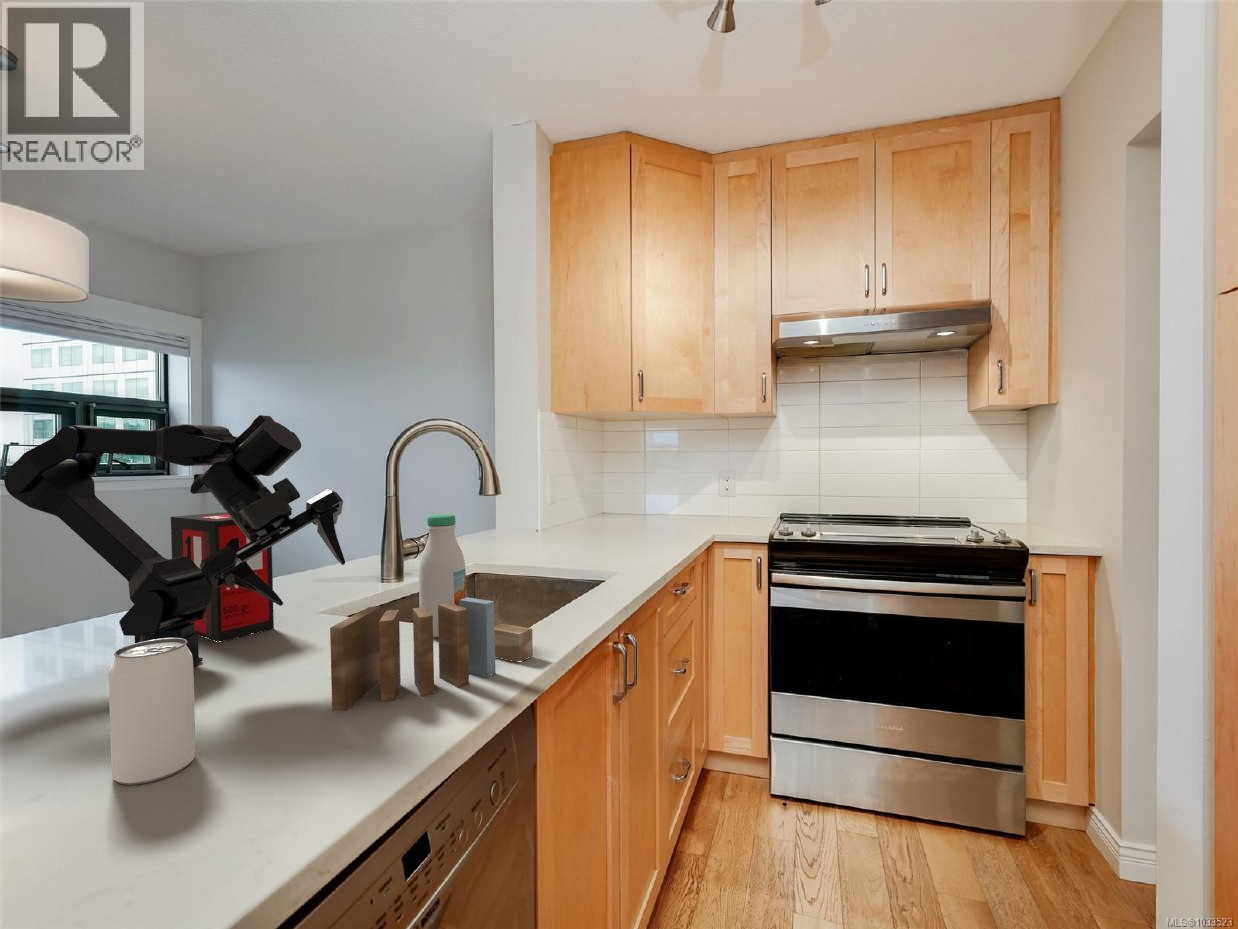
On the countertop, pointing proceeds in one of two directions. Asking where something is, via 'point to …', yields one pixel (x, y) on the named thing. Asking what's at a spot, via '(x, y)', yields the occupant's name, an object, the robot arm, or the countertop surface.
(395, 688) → the domino
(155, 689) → the can
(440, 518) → the milk bottle
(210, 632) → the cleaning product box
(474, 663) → the domino
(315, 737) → the countertop surface
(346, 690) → the domino
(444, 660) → the domino
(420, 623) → the domino
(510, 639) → the block
